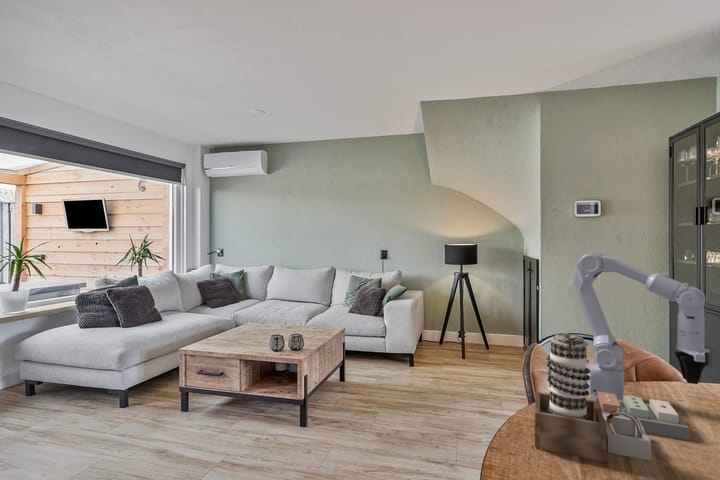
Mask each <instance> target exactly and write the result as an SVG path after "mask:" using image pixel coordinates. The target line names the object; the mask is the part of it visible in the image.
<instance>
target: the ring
mask: <svg viewBox="0 0 720 480" xmlns="http://www.w3.org/2000/svg"><path fill="white" fill-rule="evenodd" d="M628 410H629V409H627V410H625V408H623V409H621V410H620V409H619V408H618V410H615V411H613V412H612V413H611V414H610V415H609V416H608V417H607V422H608V423H609V426H610V428H611V431H612V433H613V434H617V433H616V432H615V431H614V429H613V427H612V423H611V421H612V418H613V417H615V416H619V415H621V416H626V417H628V418H630V419H631V420H632V421H633V422H634V424H635V426H636V428H637V436H636V438H641V433H642V426H641V424H640V422H639V421H638V419H637V418H636V417H635V416H633V413H631V411H628Z"/></svg>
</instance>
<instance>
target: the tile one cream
mask: <svg viewBox="0 0 720 480" xmlns="http://www.w3.org/2000/svg"><path fill="white" fill-rule="evenodd" d="M649 404H650V406H649V409H650V410H651V412H652V414H653V415H654V417H655V418H656V420H657V421H663V422H669V423H675V424H678V423H679V416H680V414H679V413H678V412H677V410H675V408H674V407H673V406H672V405H671V404H670V402H669V401H665V400H657V399H651V398H650V399H649ZM673 408H674V409H673ZM676 412H677V413H678V414H677V413H676Z"/></svg>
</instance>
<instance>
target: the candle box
mask: <svg viewBox="0 0 720 480" xmlns="http://www.w3.org/2000/svg"><path fill="white" fill-rule="evenodd" d="M549 406H550V393H547V392H541V391H535V408H534V410H535V411H534V412H535V413H534V448H535V447H537V448H536V449H539V448H542V449H541V450H544V449H546V450H545V451H549V450H550V452H554V453H560V454H563V453H564V455H568V456H574V457H578V458H583V459H588V460H593V461H597V462H603V463H607V448H606V423H605V420H604V417H603V414H602V412H601V409H600V406H599V403H598V401H593V400H591V399H587V398H586V406H587V415H588V420H584V419H578V418H572V417H567V416H561V415H555V414H549V411H548V407H549Z"/></svg>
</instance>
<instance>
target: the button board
mask: <svg viewBox="0 0 720 480" xmlns="http://www.w3.org/2000/svg"><path fill="white" fill-rule="evenodd" d="M590 400H593V401H598V396H592V395H591V397H590ZM617 400H618V399H617ZM618 402H619V404H620V406H621V409H623V408H624V406H623V400H618ZM644 404H645V405H646V407H647V408H648V410H649V419H645V418H639V417H636V418H637V419H638V420H639V421H640V423H641V425H642V427H643V428H644V430H645V432H646V434H650V435H656V436H657V435H658V436H662V437H666V438H667V437H668V438H673V439H679V440H683V441H690V427H689V426H688V424H686V422H685V421H684V420H683V418H682V417H681V416H680V415H679V413H678V412H677V411H676V413H677V414H678V415H679V423H678V424H675V423H669V422H663V421H657V420H656V418H655V417H654V415H653V414H652V412H651V410H650V409H649V406H650V403H645V402H644ZM672 408H673V409H674V410H675V408H674V407H672ZM601 412H602V411H601ZM602 414H608V415H610V414H611V413H608V412H602ZM619 416H620V417H626V416H621V415H619ZM626 418H628V417H626Z"/></svg>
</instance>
